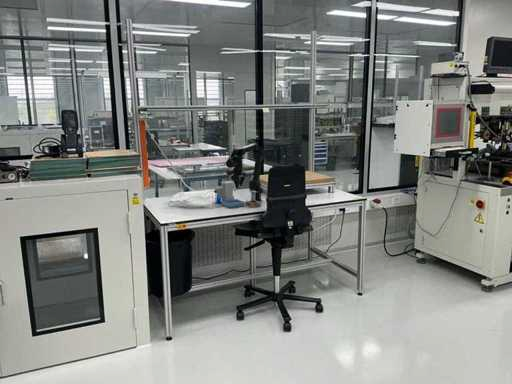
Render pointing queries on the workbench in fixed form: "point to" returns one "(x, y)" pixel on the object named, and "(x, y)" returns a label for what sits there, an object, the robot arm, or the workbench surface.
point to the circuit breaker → (225, 190)
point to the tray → (233, 203)
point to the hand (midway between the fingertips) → (238, 187)
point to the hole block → (252, 204)
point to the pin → (253, 196)
